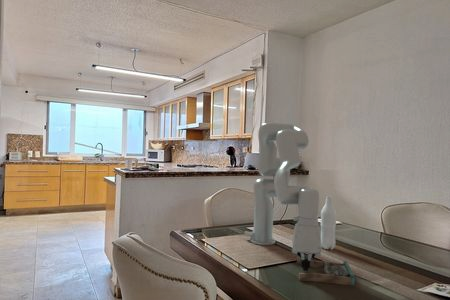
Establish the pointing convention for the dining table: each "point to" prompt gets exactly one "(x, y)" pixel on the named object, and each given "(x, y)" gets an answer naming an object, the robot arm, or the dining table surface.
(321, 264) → the guide
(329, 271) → the egg carton
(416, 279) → the dining table surface
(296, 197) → the robot arm
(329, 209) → the water bottle
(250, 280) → the dining table surface
